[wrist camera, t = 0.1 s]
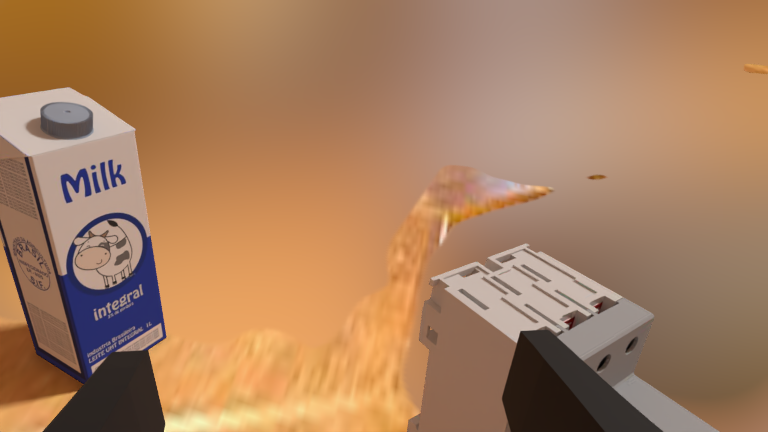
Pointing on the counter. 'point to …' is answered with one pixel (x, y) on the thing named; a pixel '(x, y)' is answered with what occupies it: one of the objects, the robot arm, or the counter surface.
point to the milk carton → (77, 229)
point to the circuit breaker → (501, 332)
